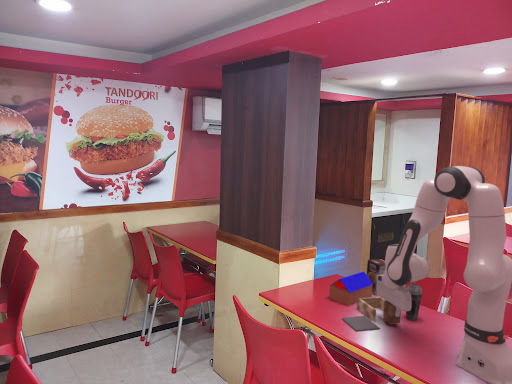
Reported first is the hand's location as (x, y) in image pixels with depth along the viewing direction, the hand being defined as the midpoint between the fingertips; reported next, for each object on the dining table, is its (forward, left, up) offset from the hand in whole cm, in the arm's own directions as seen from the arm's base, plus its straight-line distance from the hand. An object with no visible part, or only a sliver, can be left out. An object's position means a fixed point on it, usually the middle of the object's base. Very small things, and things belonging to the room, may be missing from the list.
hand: (392, 313), depth 176 cm
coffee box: (+36, -15, -5) cm, 39 cm away
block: (0, 0, -4) cm, 4 cm away
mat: (+3, +13, -5) cm, 14 cm away
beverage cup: (+4, -13, -5) cm, 14 cm away
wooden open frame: (+12, 0, -5) cm, 12 cm away
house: (+31, +2, -5) cm, 31 cm away
